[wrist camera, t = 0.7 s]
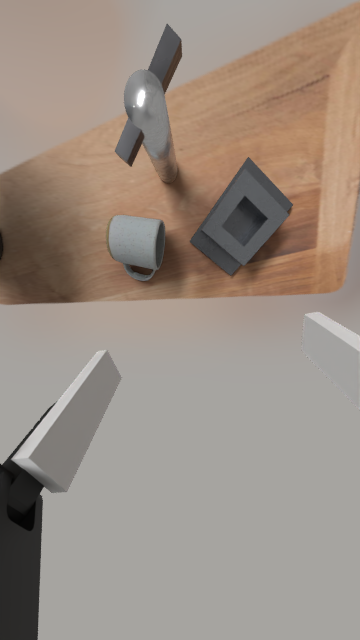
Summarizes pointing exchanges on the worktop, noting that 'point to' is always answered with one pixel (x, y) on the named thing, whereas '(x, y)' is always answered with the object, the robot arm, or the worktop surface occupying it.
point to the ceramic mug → (136, 243)
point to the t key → (152, 110)
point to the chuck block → (242, 219)
